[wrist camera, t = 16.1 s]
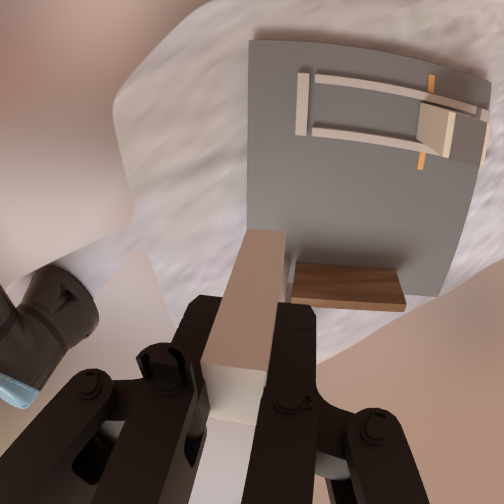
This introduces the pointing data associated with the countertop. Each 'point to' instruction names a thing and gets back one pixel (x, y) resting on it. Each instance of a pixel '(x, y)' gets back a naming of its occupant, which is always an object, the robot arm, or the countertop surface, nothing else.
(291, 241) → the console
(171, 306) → the countertop surface
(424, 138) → the fader knob
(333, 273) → the door
